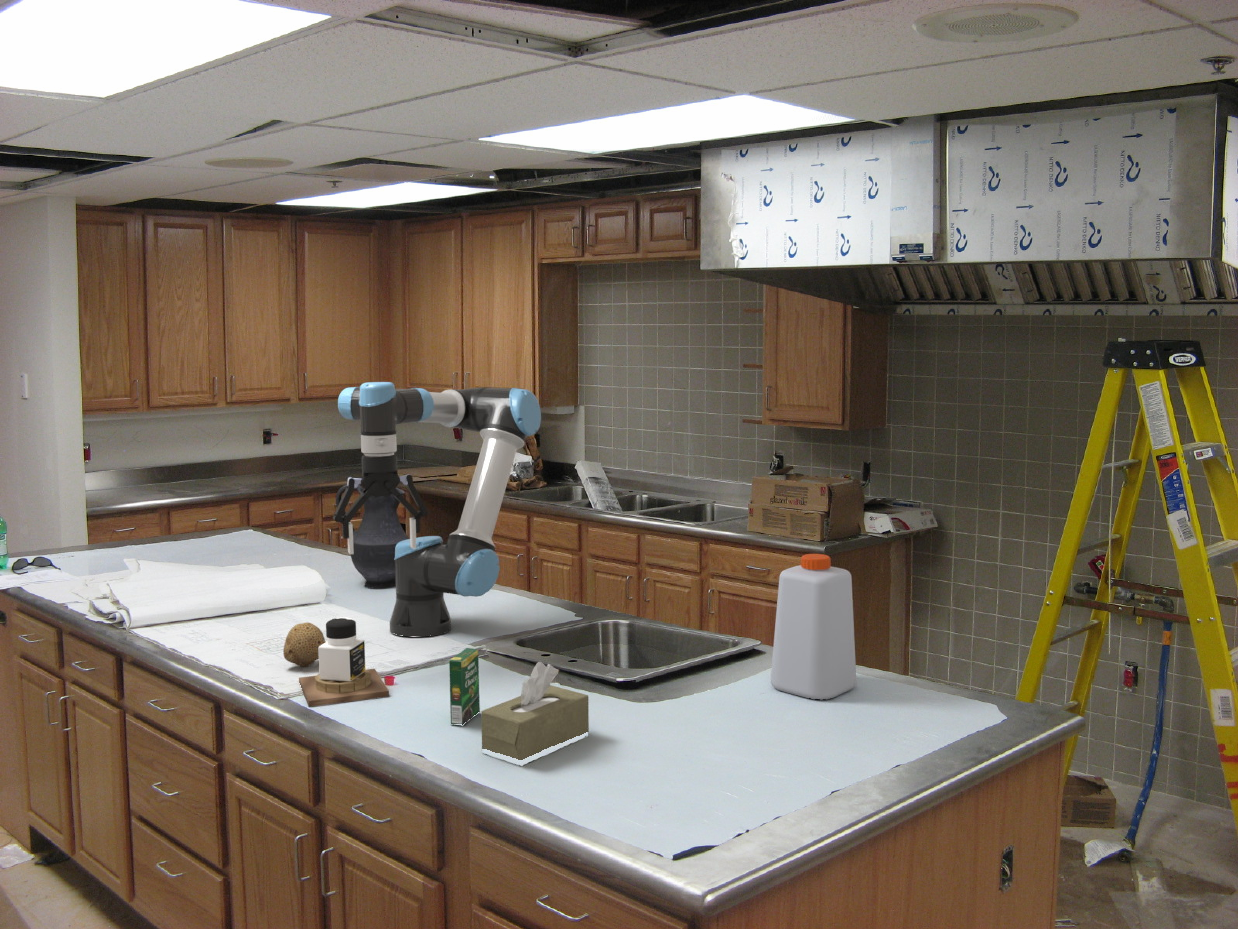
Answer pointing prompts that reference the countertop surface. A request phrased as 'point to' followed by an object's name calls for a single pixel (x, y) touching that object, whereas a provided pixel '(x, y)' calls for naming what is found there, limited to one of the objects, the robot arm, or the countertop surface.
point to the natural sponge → (303, 644)
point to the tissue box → (535, 717)
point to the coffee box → (464, 686)
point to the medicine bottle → (341, 652)
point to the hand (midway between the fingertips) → (382, 550)
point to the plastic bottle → (814, 630)
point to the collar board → (343, 689)
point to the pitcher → (377, 539)
